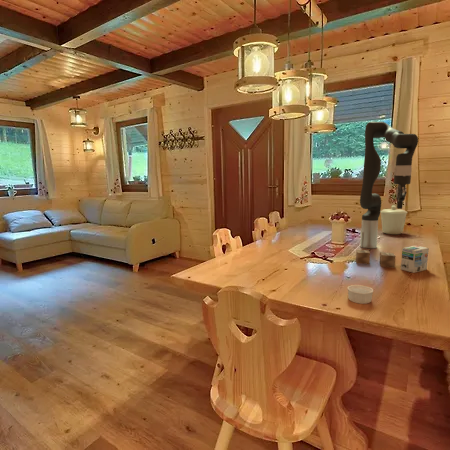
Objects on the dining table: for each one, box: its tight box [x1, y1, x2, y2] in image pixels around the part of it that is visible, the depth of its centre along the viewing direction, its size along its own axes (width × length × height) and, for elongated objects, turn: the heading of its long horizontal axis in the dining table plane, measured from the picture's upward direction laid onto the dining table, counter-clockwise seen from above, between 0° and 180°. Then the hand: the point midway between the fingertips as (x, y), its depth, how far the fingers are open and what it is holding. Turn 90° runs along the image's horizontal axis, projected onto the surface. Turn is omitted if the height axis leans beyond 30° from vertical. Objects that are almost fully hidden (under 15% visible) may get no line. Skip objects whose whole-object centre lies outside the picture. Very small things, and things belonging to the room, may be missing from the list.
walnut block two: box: [355, 249, 371, 265], centre depth 163 cm, size 6×6×6 cm
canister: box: [380, 205, 409, 235], centre depth 234 cm, size 18×18×21 cm
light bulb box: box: [400, 244, 429, 274], centre depth 149 cm, size 11×7×11 cm, turn 117°
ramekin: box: [347, 284, 374, 305], centre depth 116 cm, size 9×9×4 cm
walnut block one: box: [379, 252, 396, 269], centre depth 157 cm, size 6×6×6 cm
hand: (399, 208), depth 161 cm, fingers closed
